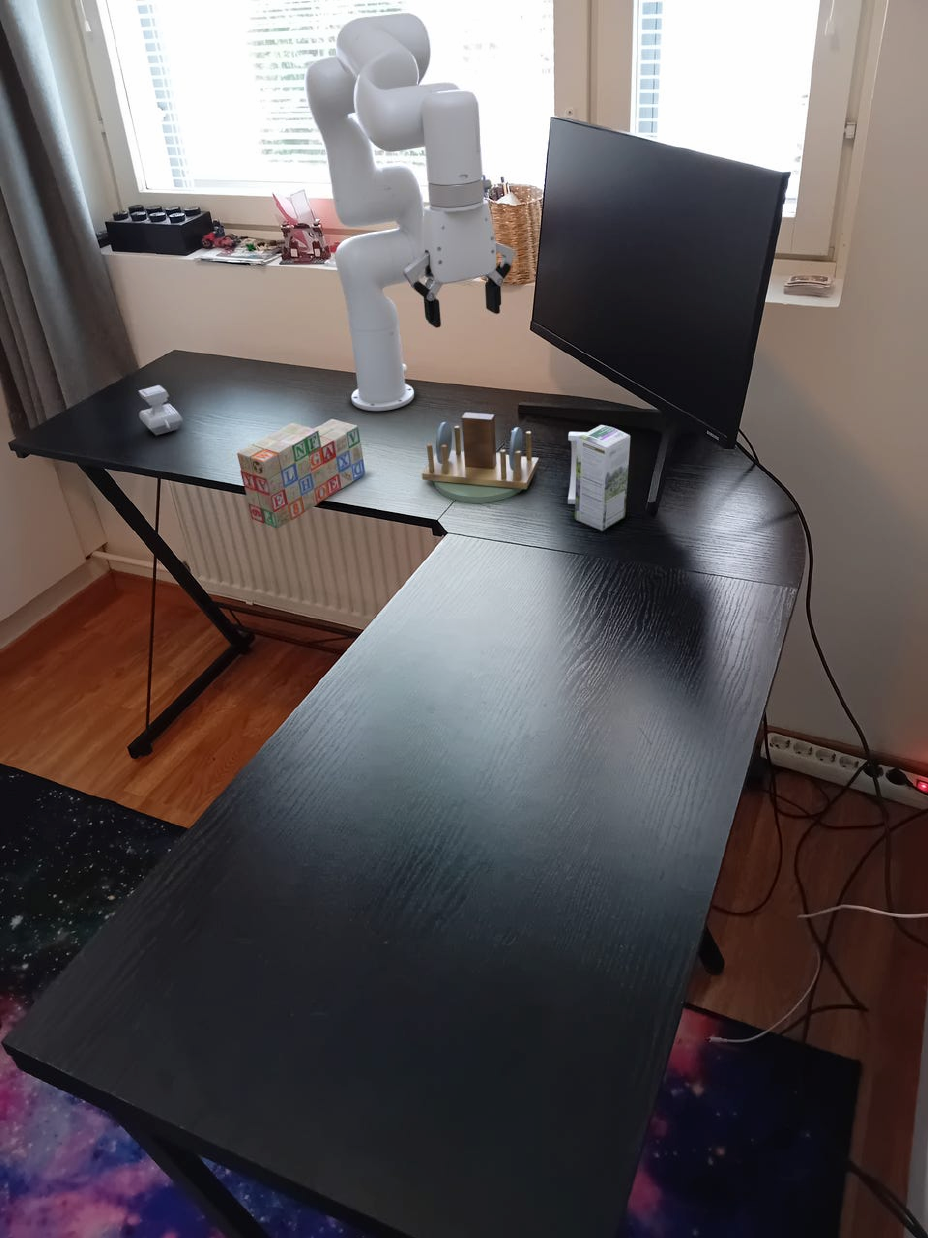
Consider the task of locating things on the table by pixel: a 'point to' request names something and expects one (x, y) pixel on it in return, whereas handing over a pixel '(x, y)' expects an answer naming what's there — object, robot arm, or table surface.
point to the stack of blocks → (299, 469)
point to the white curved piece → (573, 465)
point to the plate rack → (480, 455)
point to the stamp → (159, 411)
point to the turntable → (474, 492)
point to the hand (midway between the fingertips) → (464, 317)
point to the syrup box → (601, 476)
